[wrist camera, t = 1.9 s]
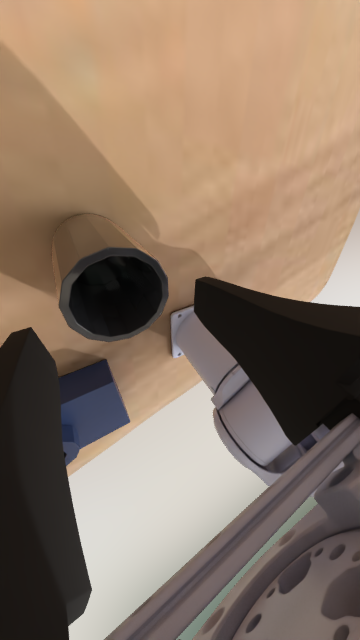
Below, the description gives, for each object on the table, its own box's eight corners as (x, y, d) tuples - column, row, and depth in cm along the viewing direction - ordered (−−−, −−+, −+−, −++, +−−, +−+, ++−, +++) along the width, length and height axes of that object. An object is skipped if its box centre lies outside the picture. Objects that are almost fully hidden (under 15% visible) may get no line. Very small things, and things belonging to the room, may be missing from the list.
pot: (122, 208, 14) (166, 236, 9) (134, 278, 17) (170, 323, 13) (35, 217, 12) (34, 260, 7) (69, 294, 15) (83, 355, 11)
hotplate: (106, 359, 21) (118, 396, 18) (123, 401, 28) (135, 435, 25) (-48, 419, 16) (-69, 485, 13) (17, 453, 23) (13, 503, 20)
